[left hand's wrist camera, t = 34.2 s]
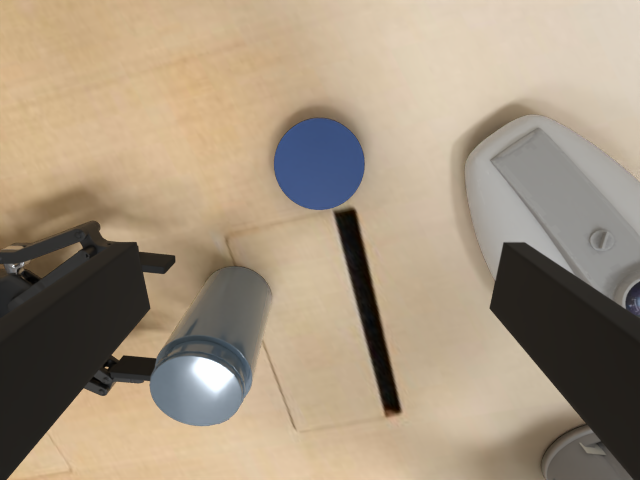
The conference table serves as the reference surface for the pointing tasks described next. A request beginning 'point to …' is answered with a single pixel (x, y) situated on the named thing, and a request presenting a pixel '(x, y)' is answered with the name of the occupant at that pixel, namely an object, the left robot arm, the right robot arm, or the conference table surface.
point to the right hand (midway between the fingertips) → (173, 321)
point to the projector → (557, 204)
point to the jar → (213, 349)
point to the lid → (319, 163)
